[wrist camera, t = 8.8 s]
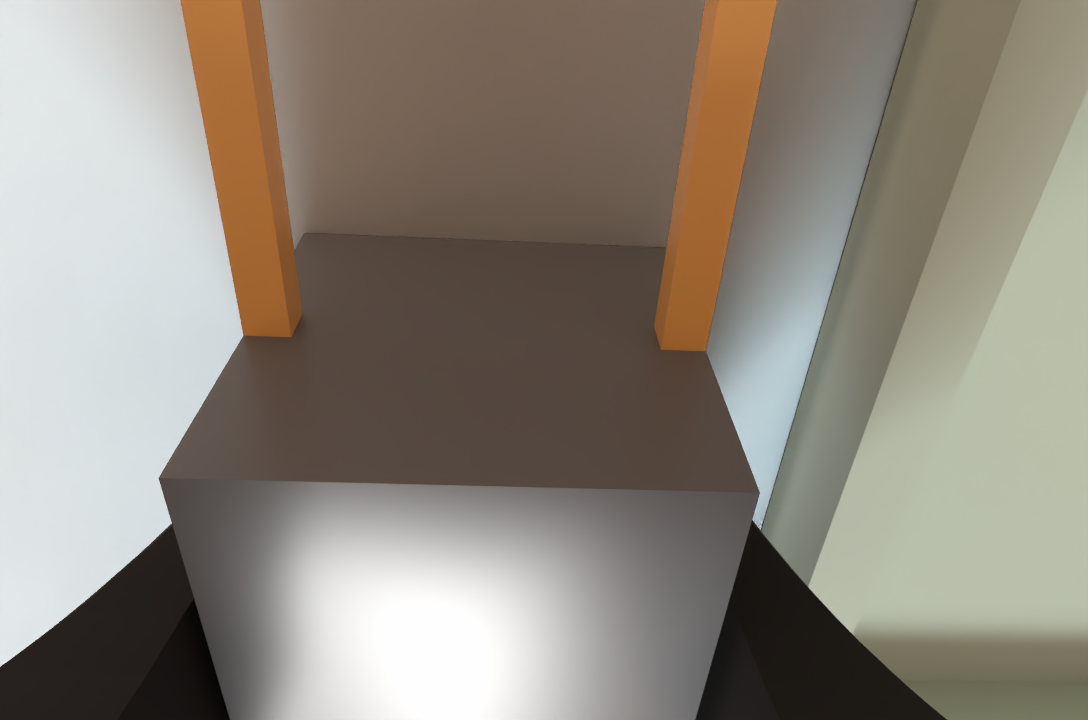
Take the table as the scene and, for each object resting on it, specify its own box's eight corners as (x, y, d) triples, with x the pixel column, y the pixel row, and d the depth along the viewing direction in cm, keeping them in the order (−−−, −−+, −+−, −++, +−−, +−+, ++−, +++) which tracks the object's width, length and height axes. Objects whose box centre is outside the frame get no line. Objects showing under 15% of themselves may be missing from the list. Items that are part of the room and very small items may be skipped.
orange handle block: (734, -193, 8) (972, -263, 4) (613, 583, 14) (650, 875, 10) (247, -227, 8) (-82, -342, 3) (349, 578, 14) (276, 876, 10)
